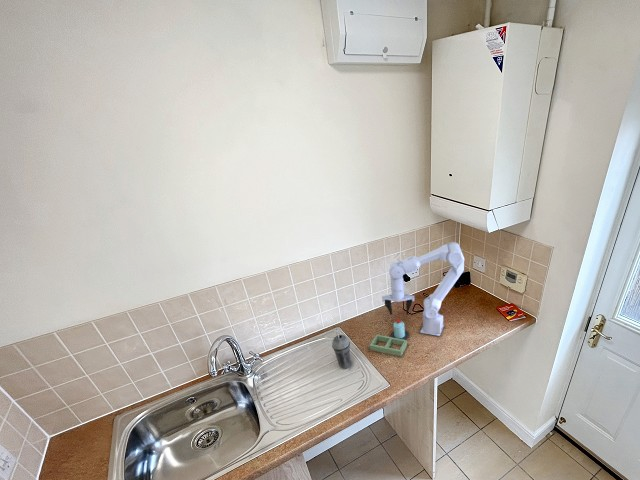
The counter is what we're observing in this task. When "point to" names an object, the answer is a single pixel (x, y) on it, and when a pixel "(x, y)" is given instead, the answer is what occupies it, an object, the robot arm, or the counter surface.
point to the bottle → (399, 329)
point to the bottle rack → (388, 345)
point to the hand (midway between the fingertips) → (399, 313)
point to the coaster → (400, 338)
